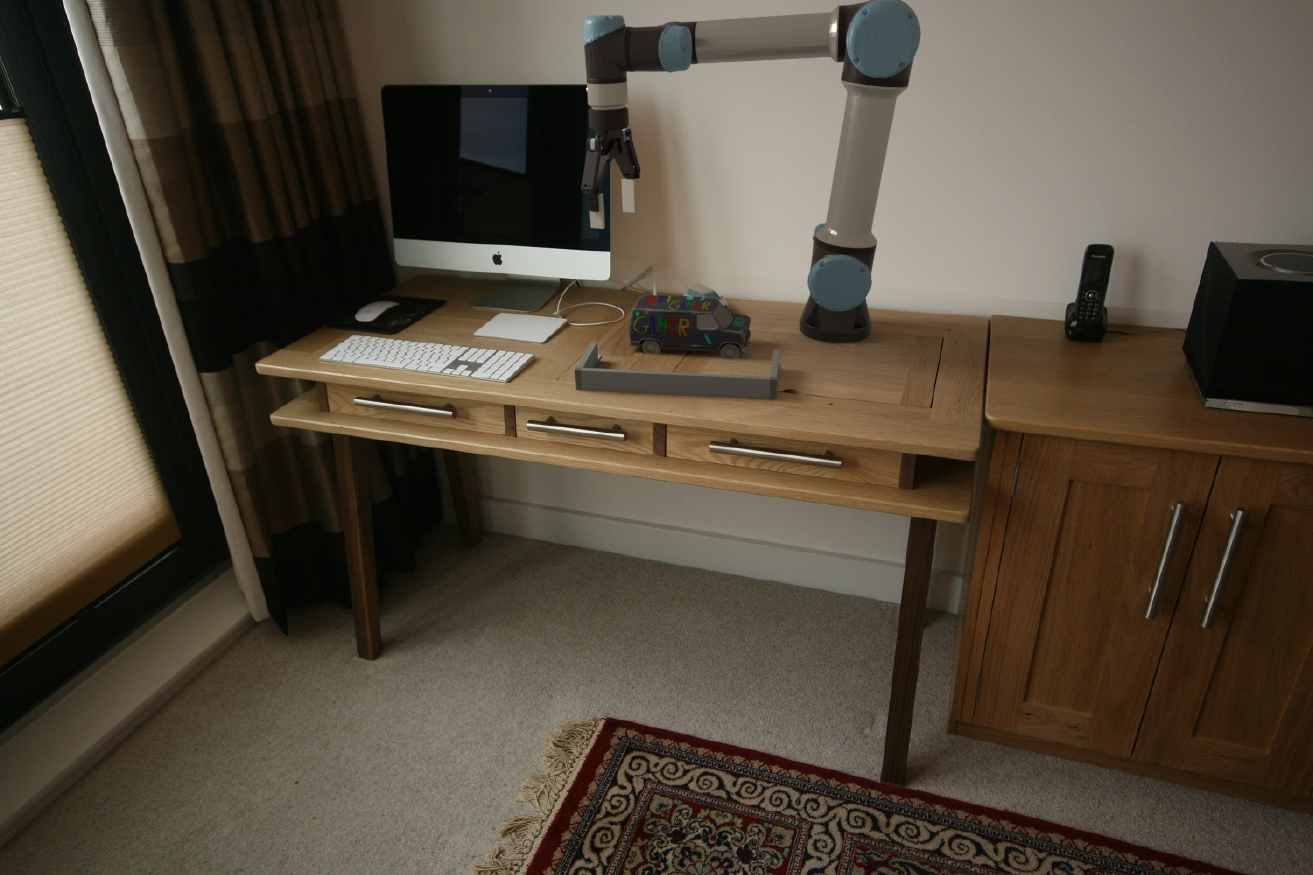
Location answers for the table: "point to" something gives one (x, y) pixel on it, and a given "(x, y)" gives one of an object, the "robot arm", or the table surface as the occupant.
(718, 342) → the toy van
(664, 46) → the robot arm
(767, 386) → the bay
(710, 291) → the toy car
